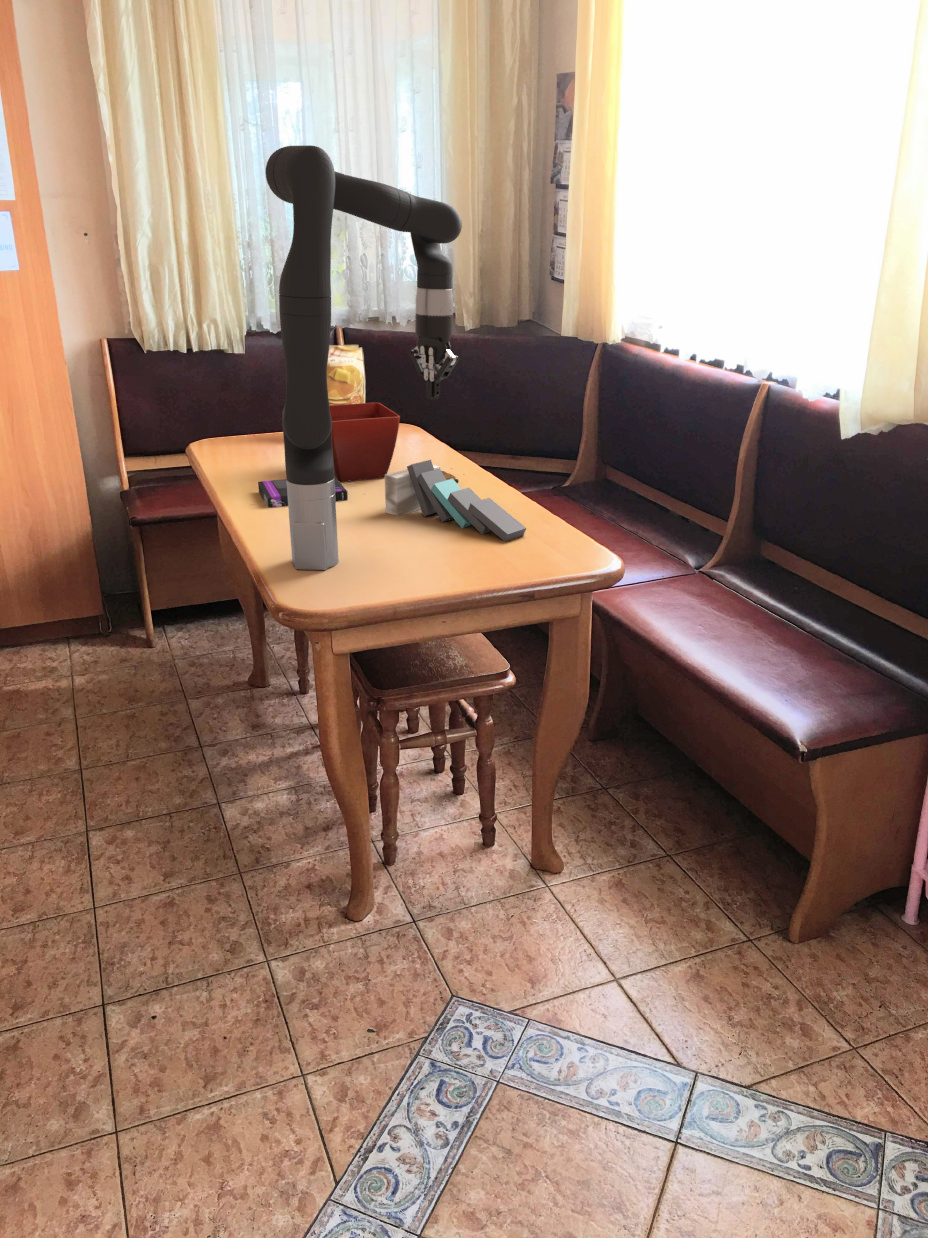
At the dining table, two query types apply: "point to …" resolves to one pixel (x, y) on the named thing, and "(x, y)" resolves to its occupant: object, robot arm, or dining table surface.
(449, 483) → the domino
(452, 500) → the domino
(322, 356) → the robot arm
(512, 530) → the domino
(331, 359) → the pancake mix bag
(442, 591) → the dining table surface
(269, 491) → the box
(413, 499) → the block
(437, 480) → the domino
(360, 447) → the plant pot
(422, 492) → the domino
